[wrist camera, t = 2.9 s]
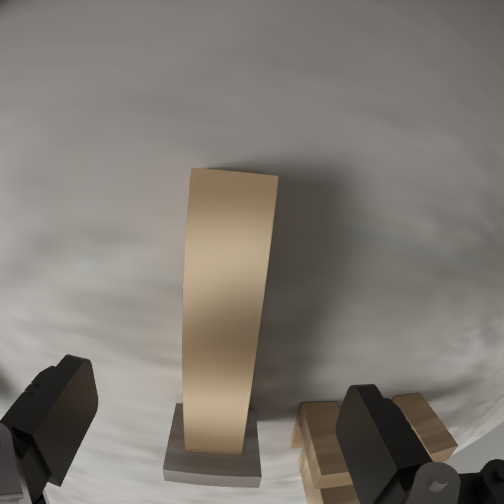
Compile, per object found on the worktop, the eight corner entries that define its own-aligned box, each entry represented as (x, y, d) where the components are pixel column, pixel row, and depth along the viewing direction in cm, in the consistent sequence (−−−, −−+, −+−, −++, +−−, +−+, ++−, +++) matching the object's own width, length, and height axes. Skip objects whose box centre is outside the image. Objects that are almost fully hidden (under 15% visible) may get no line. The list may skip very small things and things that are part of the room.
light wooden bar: (182, 167, 14) (151, 165, 9) (287, 177, 14) (318, 181, 9) (177, 415, 18) (164, 480, 12) (253, 421, 18) (258, 487, 13)
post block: (301, 402, 18) (347, 572, 6) (420, 392, 18) (500, 508, 7) (283, 461, 19) (306, 596, 8) (389, 450, 20) (439, 556, 9)
